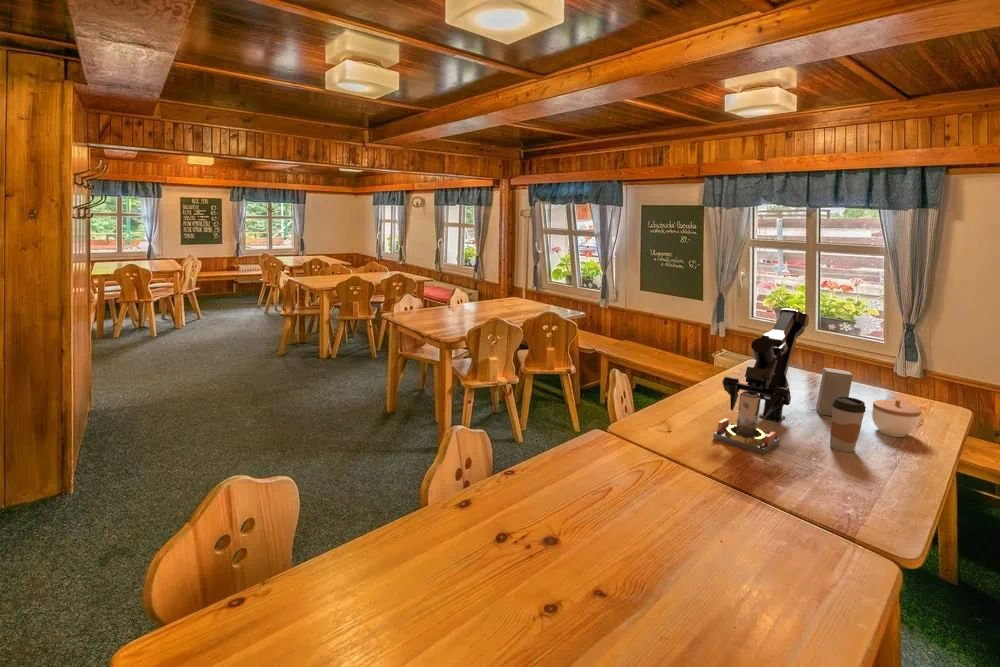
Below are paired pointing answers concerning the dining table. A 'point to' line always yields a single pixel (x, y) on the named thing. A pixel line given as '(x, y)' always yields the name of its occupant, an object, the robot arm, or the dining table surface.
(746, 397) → the spout can
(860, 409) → the coffee cup
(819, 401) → the skincare box
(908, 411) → the lidded bowl
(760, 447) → the grey base with ring
